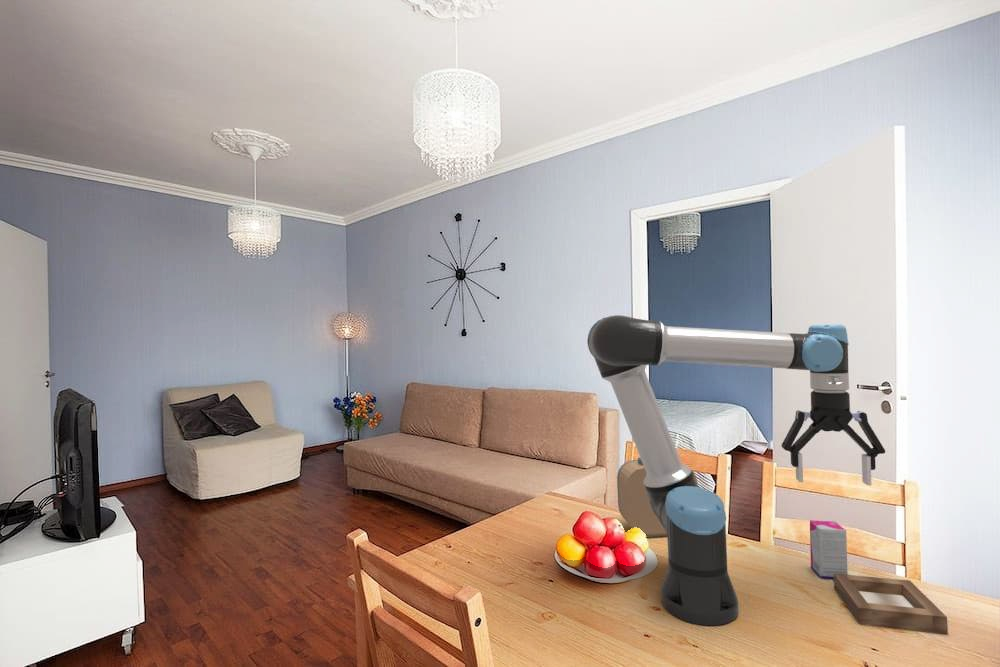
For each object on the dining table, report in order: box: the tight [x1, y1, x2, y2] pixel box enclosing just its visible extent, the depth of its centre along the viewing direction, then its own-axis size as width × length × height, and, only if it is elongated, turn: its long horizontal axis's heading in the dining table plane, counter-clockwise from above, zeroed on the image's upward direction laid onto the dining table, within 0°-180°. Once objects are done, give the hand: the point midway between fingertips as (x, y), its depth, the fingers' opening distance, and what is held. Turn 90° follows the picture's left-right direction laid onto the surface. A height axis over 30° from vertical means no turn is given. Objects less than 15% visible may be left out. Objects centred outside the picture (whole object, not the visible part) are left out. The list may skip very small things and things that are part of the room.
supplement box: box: [809, 519, 849, 580], centre depth 115 cm, size 6×6×12 cm
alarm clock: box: [616, 456, 698, 538], centre depth 144 cm, size 21×10×22 cm, turn 94°
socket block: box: [833, 574, 949, 635], centre depth 100 cm, size 14×14×3 cm
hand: (832, 482), depth 114 cm, fingers open, 13 cm apart
